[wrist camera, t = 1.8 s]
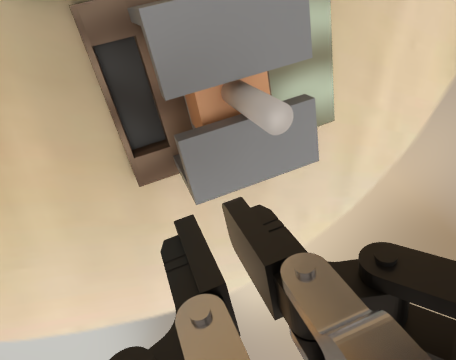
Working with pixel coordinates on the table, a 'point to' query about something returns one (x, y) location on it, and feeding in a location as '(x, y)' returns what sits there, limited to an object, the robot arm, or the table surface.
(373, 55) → the table surface
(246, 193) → the table surface
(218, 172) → the tunnel
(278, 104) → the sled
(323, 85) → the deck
